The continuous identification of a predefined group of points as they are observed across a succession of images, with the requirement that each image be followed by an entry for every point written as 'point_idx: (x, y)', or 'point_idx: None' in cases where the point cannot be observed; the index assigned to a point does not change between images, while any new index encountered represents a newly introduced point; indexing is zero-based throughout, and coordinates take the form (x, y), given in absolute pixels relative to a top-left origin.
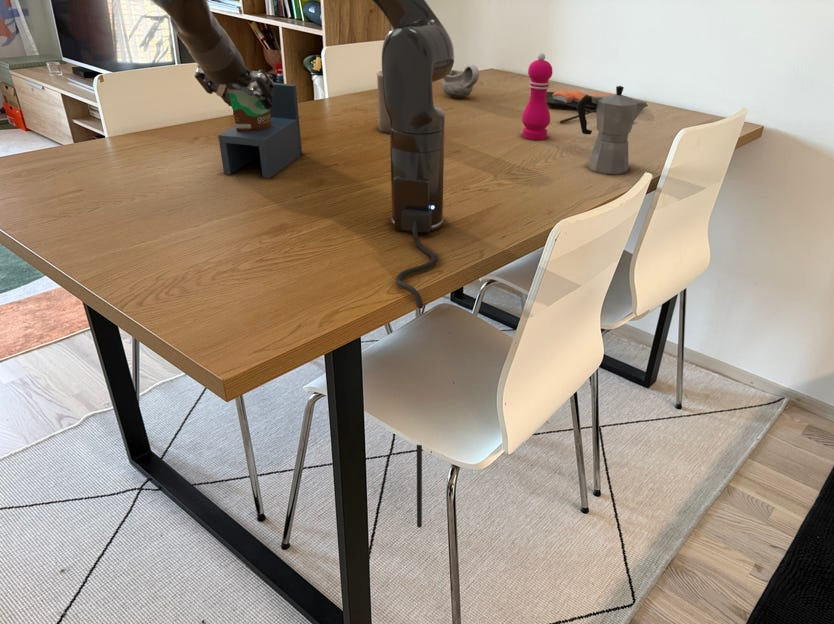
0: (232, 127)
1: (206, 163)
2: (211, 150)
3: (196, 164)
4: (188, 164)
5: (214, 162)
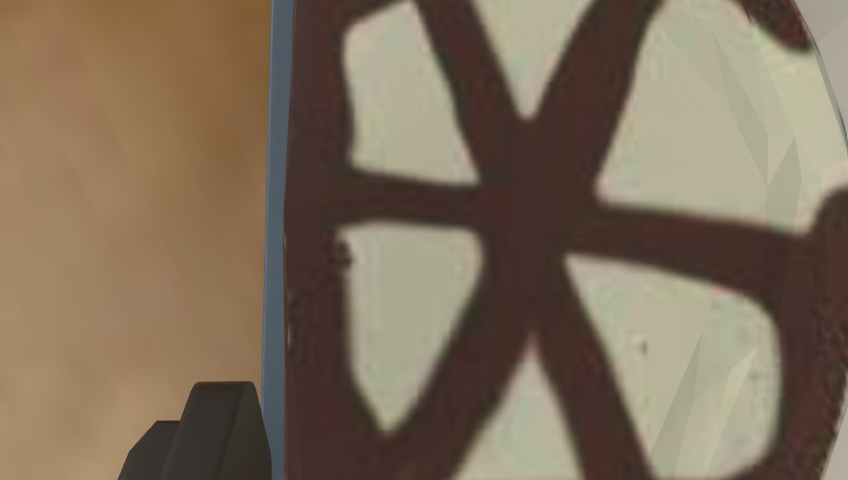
0: (267, 397)
1: (111, 413)
2: (24, 136)
3: (57, 455)
4: (6, 472)
5: (153, 375)
